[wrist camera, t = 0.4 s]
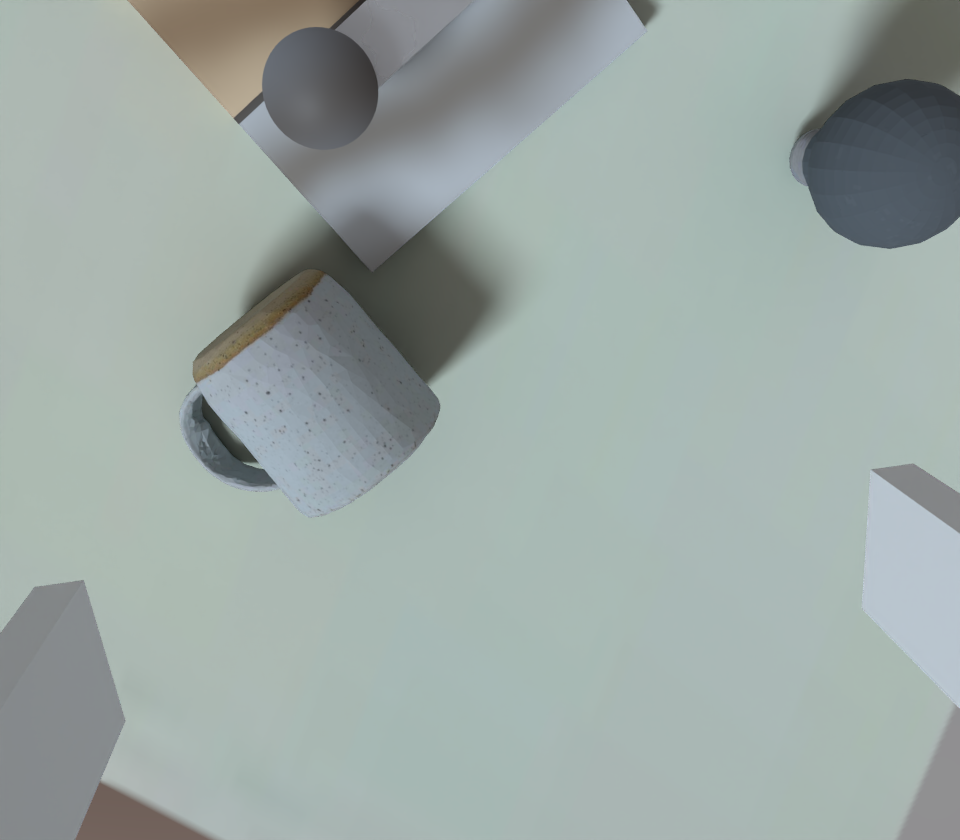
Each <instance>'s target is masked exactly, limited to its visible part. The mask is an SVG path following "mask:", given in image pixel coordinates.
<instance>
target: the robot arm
mask: <svg viewBox="0 0 960 840" xmlns="http://www.w3.org/2000/svg"><path fill="white" fill-rule="evenodd" d="M862 609H863V610H864V611H865V612H866V613H867V614H868V615H869V616H870V617H871V618H872V619H873V621H874V622H875V623H876V624H877V625H878V626H879V627H880V628H881V629H882V630H883V631H884V632H885V633H886V634H887V635H888V636H889V637H890V638H891V639H892V640H893V641H894V642H895V643H896V644H897V645H898V646H899V647H900V648H901V649H902V650H903V651H904V652H905V653H906V654H907V655H908V656H909V657H910V658H911V659H912V660H913V661H914V662H915V663H916V664H917V665H918V666H919V667H920V668H921V669H922V670H923V671H924V672H925V674H926V675H927V676H928V677H929V678H930V679H931V680H932V681H933V682H934V683H935V684H936V685H937V686H938V687H939V688H940V689H941V690H942V691H943V692H944V693H945V694H946V695H947V696H948V697H949V698H950V699H951V700H952V701H953V702H954V703H955V704H956V705H957V706H958V707H959V708H960V493H958V492H956V491H955V490H953V489H952V488H950V487H949V486H947V485H946V484H944V483H943V482H941V481H939V480H938V479H936V478H935V477H933V476H932V475H930V474H929V473H927V472H926V471H924V470H923V469H921V468H919V467H918V466H916V465H915V464H907V465H900V466H893V467H886V468H879V469H872V470H871V471H870V487H869V503H868V519H867V535H866V551H865V567H864V583H863V599H862ZM124 723H125V718H124V714H123V711H122V707H121V704H120V701H119V697H118V694H117V691H116V687H115V684H114V681H113V677H112V674H111V670H110V667H109V664H108V660H107V657H106V654H105V650H104V647H103V643H102V640H101V637H100V633H99V630H98V627H97V623H96V620H95V617H94V613H93V610H92V606H91V603H90V600H89V596H88V593H87V590H86V586H85V583H84V580H81V581H74V582H67V583H60V584H53V585H46V586H39V587H34V588H33V590H32V591H31V593H30V594H29V595H28V597H27V598H26V599H25V601H24V602H23V603H22V605H21V606H20V607H19V609H18V610H17V612H16V613H15V614H14V616H13V617H12V618H11V620H10V621H9V622H8V624H7V625H6V626H5V628H4V629H3V630H2V632H1V633H0V840H75V838H76V836H77V834H78V831H79V829H80V827H81V824H82V822H83V819H84V817H85V815H86V812H87V810H88V808H89V805H90V803H91V801H92V798H93V796H94V794H95V791H96V789H97V787H98V784H99V782H100V779H101V777H102V775H103V772H104V770H105V768H106V765H107V763H108V761H109V758H110V756H111V753H112V751H113V749H114V746H115V744H116V742H117V739H118V737H119V735H120V732H121V730H122V728H123V725H124Z"/></svg>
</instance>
